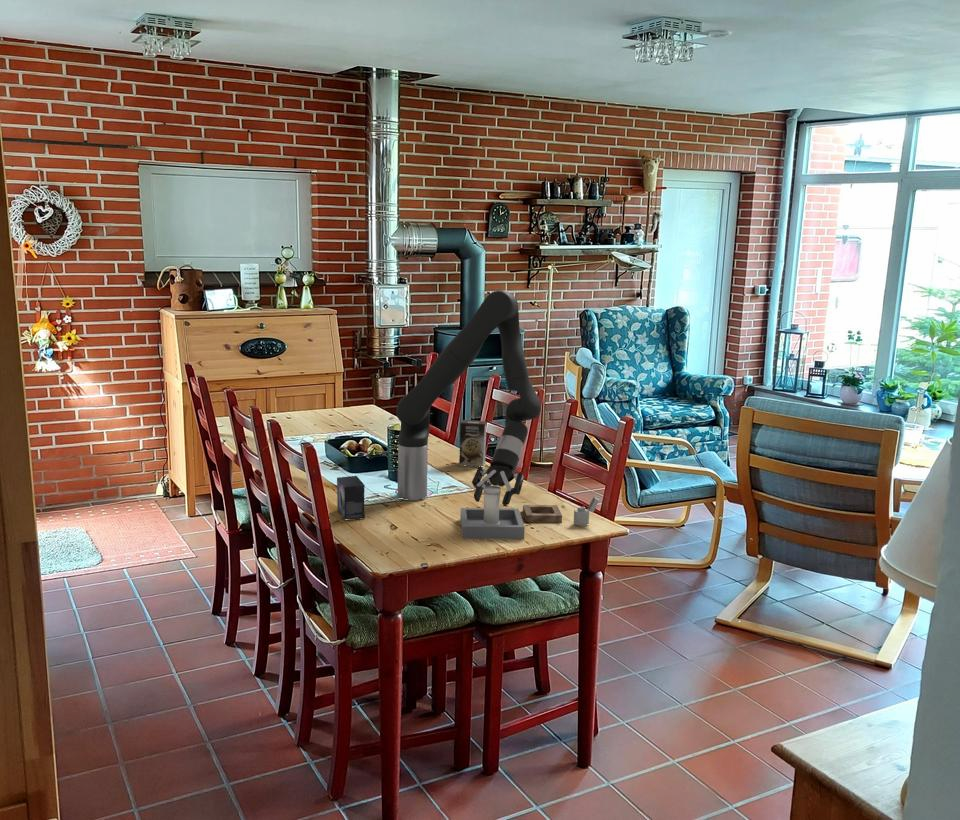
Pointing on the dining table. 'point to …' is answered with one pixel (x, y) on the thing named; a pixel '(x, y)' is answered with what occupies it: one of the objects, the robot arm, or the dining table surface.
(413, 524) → the dining table surface
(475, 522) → the parts tray
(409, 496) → the robot arm
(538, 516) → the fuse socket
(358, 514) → the small box
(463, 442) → the coffee box
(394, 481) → the dining table surface
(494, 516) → the fuse
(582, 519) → the lighter
